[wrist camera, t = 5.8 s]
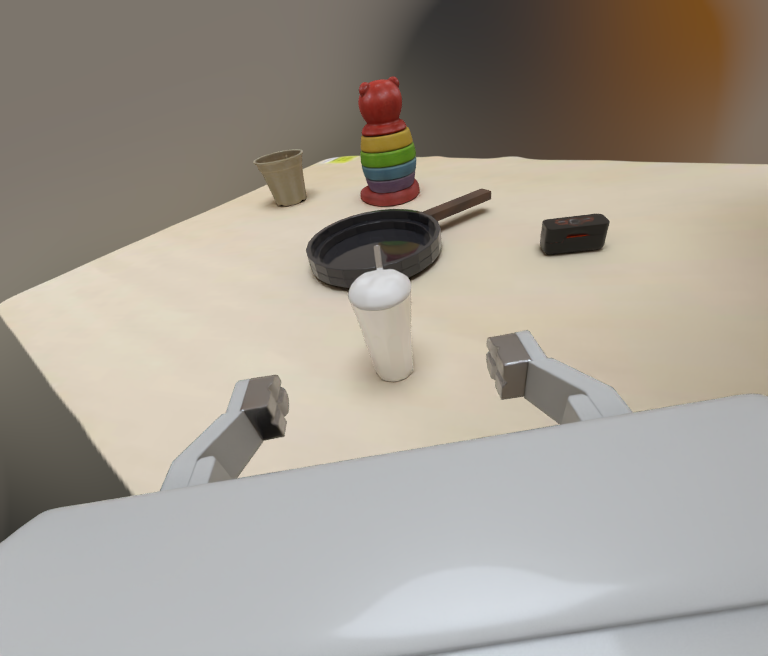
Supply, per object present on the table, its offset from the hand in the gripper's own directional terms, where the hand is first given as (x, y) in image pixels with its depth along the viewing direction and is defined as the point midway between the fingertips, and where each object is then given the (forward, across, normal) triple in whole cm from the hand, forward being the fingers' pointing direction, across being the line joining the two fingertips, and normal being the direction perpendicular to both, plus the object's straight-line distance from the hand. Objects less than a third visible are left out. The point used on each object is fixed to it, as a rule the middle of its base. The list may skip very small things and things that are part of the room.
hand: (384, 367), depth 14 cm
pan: (+33, 0, +12) cm, 35 cm away
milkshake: (+12, 0, +12) cm, 17 cm away
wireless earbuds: (+27, -23, +12) cm, 37 cm away
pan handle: (+39, -12, +10) cm, 42 cm away
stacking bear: (+56, -5, +12) cm, 57 cm away
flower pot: (+65, +15, +12) cm, 68 cm away
